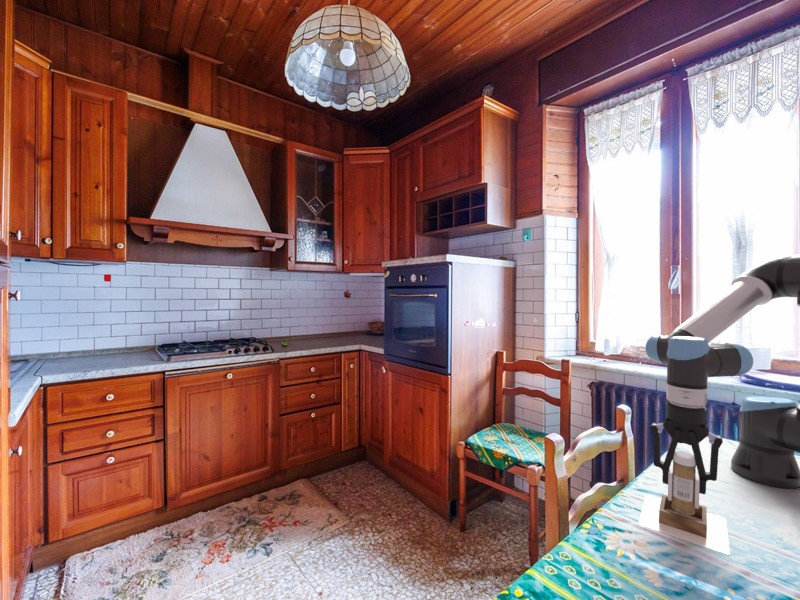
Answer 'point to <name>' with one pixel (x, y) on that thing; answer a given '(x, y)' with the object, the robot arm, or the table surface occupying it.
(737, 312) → the robot arm
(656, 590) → the table surface
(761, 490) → the table surface
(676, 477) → the sprinkles bottle
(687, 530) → the collar
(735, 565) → the table surface
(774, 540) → the table surface
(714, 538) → the tile
